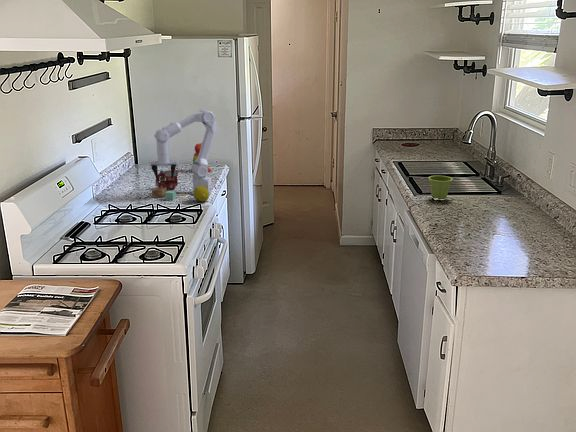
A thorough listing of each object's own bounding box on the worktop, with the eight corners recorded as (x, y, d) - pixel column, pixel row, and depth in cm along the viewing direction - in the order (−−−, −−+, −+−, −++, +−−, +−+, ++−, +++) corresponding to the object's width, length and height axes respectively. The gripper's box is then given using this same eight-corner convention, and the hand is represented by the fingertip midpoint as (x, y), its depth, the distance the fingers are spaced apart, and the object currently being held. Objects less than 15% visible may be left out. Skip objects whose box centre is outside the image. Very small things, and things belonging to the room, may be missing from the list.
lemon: (210, 203, 284) (209, 188, 282) (194, 204, 283) (193, 189, 280) (208, 198, 294) (207, 183, 292) (193, 199, 293) (192, 183, 290)
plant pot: (423, 200, 289) (425, 178, 285) (431, 195, 298) (433, 174, 295) (446, 204, 282) (448, 181, 279) (454, 198, 292) (455, 177, 289)
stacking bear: (200, 174, 347) (199, 145, 342) (189, 172, 353) (187, 143, 348) (213, 171, 356) (212, 143, 350) (201, 169, 361) (200, 141, 356)
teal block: (175, 198, 294) (175, 191, 293) (173, 200, 290) (172, 193, 289) (168, 198, 295) (168, 190, 293) (165, 200, 291) (165, 192, 290)
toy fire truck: (157, 187, 317) (156, 169, 314) (179, 187, 317) (178, 168, 314) (155, 190, 310) (153, 171, 307) (177, 190, 311) (176, 171, 307)
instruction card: (190, 194, 301) (190, 194, 300) (186, 197, 295) (186, 197, 295) (175, 194, 302) (175, 193, 302) (171, 197, 296) (171, 196, 296)
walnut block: (167, 195, 301) (166, 188, 300) (162, 198, 295) (162, 190, 294) (156, 194, 302) (155, 187, 300) (151, 197, 296) (151, 190, 295)
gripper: (178, 151, 294) (179, 177, 298) (149, 152, 293) (151, 177, 297) (176, 154, 287) (178, 180, 291) (147, 154, 286) (149, 181, 290)
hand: (164, 179), depth 294 cm, fingers open, 7 cm apart
